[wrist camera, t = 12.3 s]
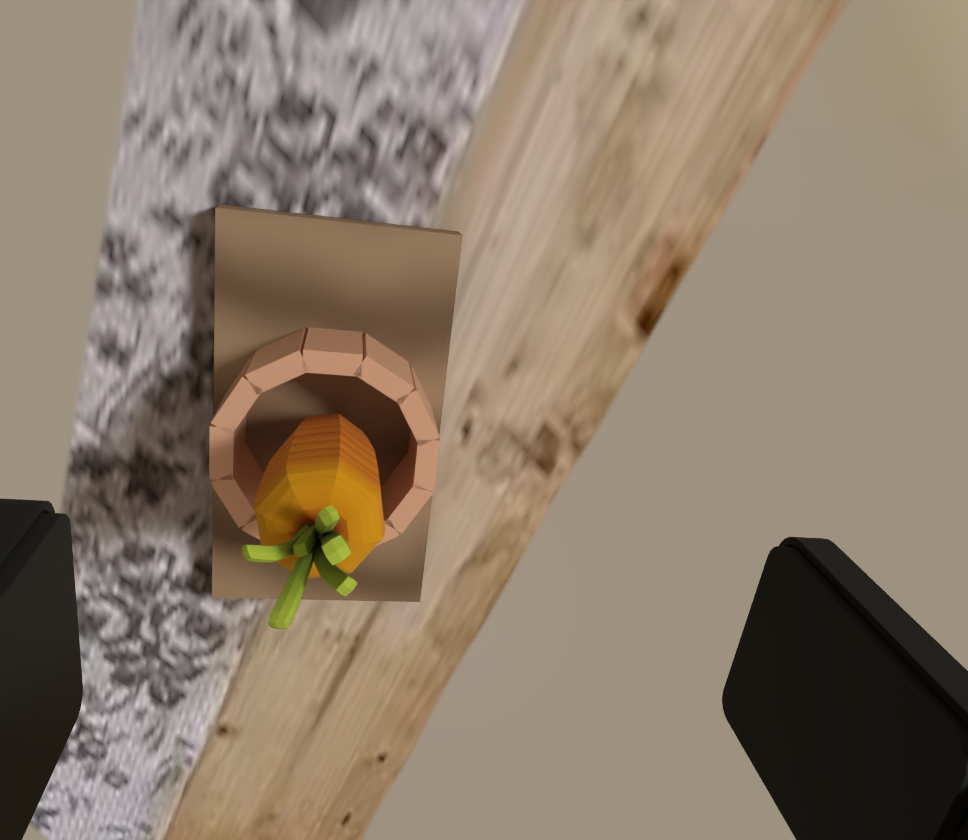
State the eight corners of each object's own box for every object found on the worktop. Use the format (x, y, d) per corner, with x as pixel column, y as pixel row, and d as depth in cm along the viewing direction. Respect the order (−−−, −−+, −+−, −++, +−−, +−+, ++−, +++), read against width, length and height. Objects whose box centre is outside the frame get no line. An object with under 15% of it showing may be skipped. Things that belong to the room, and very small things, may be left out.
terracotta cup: (225, 319, 35) (210, 342, 31) (440, 338, 37) (449, 361, 33) (223, 513, 38) (208, 554, 35) (419, 521, 40) (426, 560, 36)
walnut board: (220, 204, 35) (215, 207, 33) (458, 231, 37) (462, 235, 35) (216, 581, 41) (212, 597, 40) (417, 586, 43) (419, 601, 42)
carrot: (311, 486, 38) (284, 681, 24) (258, 405, 37) (198, 566, 23) (398, 442, 38) (420, 612, 24) (350, 358, 36) (345, 491, 23)
